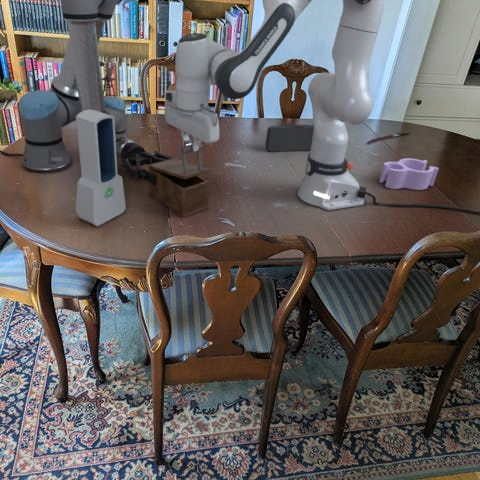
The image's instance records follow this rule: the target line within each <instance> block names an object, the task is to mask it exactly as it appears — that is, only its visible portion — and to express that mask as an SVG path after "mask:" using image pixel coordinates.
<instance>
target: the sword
mask: <svg viewBox="0 0 480 480" xmlns="http://www.w3.org/2000/svg"><path fill="white" fill-rule="evenodd" d="M401 133H402V132H396V133H393V134H389V135H384V136H381V137H375V138H373V139H370V140H369V141H367V143H368V144H372V143H374V142H377V141H381V140H385V139H389V138H393V137H401V136H403V135H404V134H401ZM409 134H410V133H406V134H405V135H409Z"/></svg>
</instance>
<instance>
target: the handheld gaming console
mask: <svg viewBox="0 0 480 480" xmlns="http://www.w3.org/2000/svg"><path fill="white" fill-rule="evenodd" d="M312 138H313V124H292V125H291V124H290V125H289V124H286V125H285V124H284V125H283V124H281V125H270V126H268V127H267V130H266V139H265V145H264V146H265V150H267V151H268V152H289V151H290V152H292V151H294V152H295V151H310V150H311V144H312Z"/></svg>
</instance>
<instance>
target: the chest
mask: <svg viewBox="0 0 480 480" xmlns="http://www.w3.org/2000/svg"><path fill="white" fill-rule="evenodd" d="M148 172H150V173H151V174H153V175H154V176H156V185H153V184H151V183H150V182H149V181H148V188H149V190H148V191H149V196H151V197H153V198H154V199H155V200H157V201H159V202H160V203H161V204H162V205H164V206H166V207H167V208H168V209H170V210H171V211H173V212H174V213H175V214H177V215H178V216H180V217H181V218H185V217H188V216H190V215H193V214H196V213H199V212H201V211H204V210H207V209H208V207H209V206H208V203H209V189H210V188H209V187H210V182H209V181H208V180H207V179H206V178H203V177H202V176H201V175H198V176H194V177H191V178H188V179H181V178H178V177H175V176H172V175H169V174H166V173H163V172H160V171H157V170H154V169H152V168H149V167H148Z"/></svg>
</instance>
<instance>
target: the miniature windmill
mask: <svg viewBox="0 0 480 480" xmlns="http://www.w3.org/2000/svg"><path fill="white" fill-rule="evenodd" d="M108 56H109V57H108ZM100 67H103V68H104V73H105V76H104V77H101V78H102V81H103V83H104V84H102V87H103V95H104V98H105V97H117V95H116V91H115V86H114V85H115V84H114V83H113V81H116V80H117V77H114V76H113V75H114V73H115V72H114V71H116V69H115V67H116V65H115V59H114V55H112V52H108V53H107V54H106V56H105V59H104V62H103V61H101V60H100ZM111 89H112V91H111ZM112 92H113V94H112Z"/></svg>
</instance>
